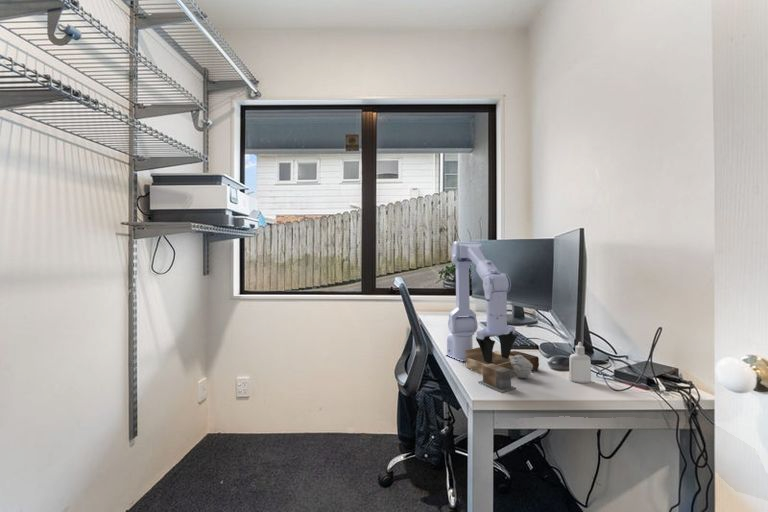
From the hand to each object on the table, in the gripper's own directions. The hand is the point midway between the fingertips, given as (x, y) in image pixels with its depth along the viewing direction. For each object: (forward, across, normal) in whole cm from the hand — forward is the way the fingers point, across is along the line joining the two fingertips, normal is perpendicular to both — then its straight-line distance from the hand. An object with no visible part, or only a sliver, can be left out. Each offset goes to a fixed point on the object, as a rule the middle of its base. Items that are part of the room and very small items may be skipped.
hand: (496, 359), depth 101 cm
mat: (+8, 0, 0) cm, 8 cm away
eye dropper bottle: (+8, +24, -11) cm, 28 cm away
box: (+7, 0, 0) cm, 7 cm away
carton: (+8, +11, +11) cm, 17 cm away
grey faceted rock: (+8, +12, 0) cm, 14 cm away
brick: (+8, +21, +7) cm, 23 cm away
